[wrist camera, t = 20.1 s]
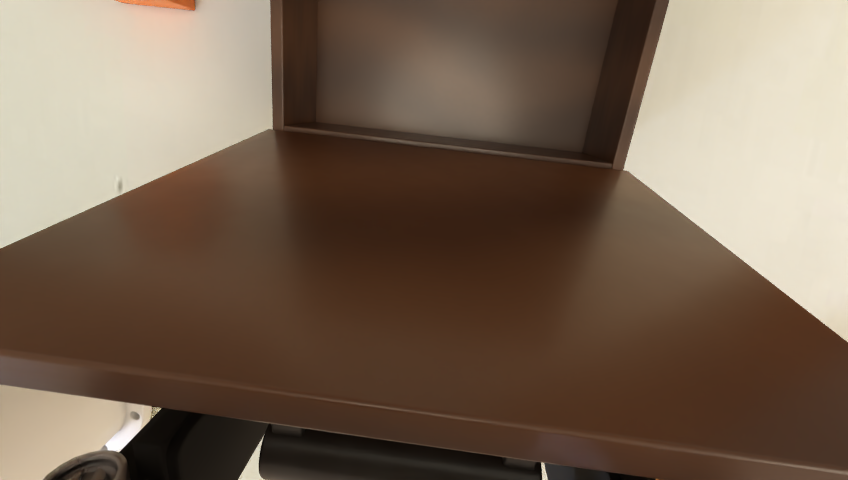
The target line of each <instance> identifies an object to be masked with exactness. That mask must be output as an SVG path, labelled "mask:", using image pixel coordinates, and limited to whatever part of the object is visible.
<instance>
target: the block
mask: <svg viewBox="0 0 848 480" xmlns="http://www.w3.org/2000/svg"><path fill="white" fill-rule="evenodd" d="M116 1H119V2H122V3H129V4H139V5H148V6H157V7H167V8H176V9H186V10H195V2H194V0H116Z"/></svg>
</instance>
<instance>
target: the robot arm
mask: <svg viewBox="0 0 848 480" xmlns="http://www.w3.org/2000/svg"><path fill="white" fill-rule="evenodd" d="M151 410H152V406H145V405H138V404H131V403H124V402H117V401H110V400H103V399H96V398H89V397H82V396H75V395H68V394H61V393H54V392H47V391H41V390H34V389H27V388H20V387H13V386H6V385H0V480H238V478H239V477H240V475H241V473H242V471H243V470H244V468H245V466H246V465H247V463H248V461H249V459H250V458H251V456H252V454H253V453H254V451H255V449H256V447H257V446H258V444H259V442H260V441H261V439H262V437H263V435H264V434H265V432H266V429H267V426H268V424H269V423H263V422H256V421H249V420H242V419H235V418H228V417H221V416H215V415H208V414H201V413H194V412H187V411H180V410H173V409H166V408H162V409H161V410H160V411H159V412H158V413H157V414H156V415H155V416H154V417H153V418H152V419H151V420H150V418H151ZM120 450H121V451H120ZM116 451H120V452H116ZM545 469H546V473H547V477H548V480H656V479H653V478H646V477H639V476H632V475H625V474H618V473H611V472H604V471H597V470H590V469H583V468H576V467H569V466H562V465H555V464H549V463H545Z"/></svg>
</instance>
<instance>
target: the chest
mask: <svg viewBox="0 0 848 480" xmlns="http://www.w3.org/2000/svg"><path fill="white" fill-rule="evenodd" d="M668 3H669V0H270V5H271V54H272V104H273V130H280V131H289V132H297V133H306V134H315V135H323V136H332V137H340V138H349V139H358V140H366V141H375V142H383V143H392V144H401V145H409V146H418V147H426V148H435V149H444V150H452V151H461V152H469V153H478V154H486V155H495V156H504V157H512V158H521V159H529V160H538V161H547V162H555V163H564V164H572V165H581V166H590V167H598V168H607V169H615V170H623V168H624V164H625V161H626V157H627V153H628V150H629V146H630V142H631V139H632V135H633V131H634V128H635V124H636V120H637V117H638V113H639V109H640V106H641V102H642V98H643V95H644V91H645V87H646V84H647V80H648V76H649V73H650V69H651V65H652V62H653V58H654V54H655V51H656V47H657V43H658V40H659V36H660V32H661V29H662V25H663V21H664V18H665V14H666V10H667V7H668Z"/></svg>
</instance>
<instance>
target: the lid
mask: <svg viewBox="0 0 848 480" xmlns="http://www.w3.org/2000/svg"><path fill="white" fill-rule="evenodd" d="M0 385H6V386H13V387H20V388H27V389H34V390H41V391H47V392H54V393H61V394H68V395H75V396H82V397H89V398H96V399H103V400H110V401H117V402H124V403H131V404H138V405H145V406H152V407H159V408H166V409H173V410H180V411H187V412H194V413H201V414H208V415H215V416H221V417H228V418H235V419H242V420H249V421H256V422H263V423H269V424H268V426H267V429H266V432H265V435H264V438H263V442H262V446H261V450H260V457H259V473H260V476H261V477H262V478H263V479H265V480H542V469H541V462H542V463H549V464H555V465H562V466H569V467H576V468H583V469H590V470H597V471H604V472H611V473H618V474H625V475H632V476H639V477H646V478H653V479H660V480H848V342H847V341H845V340H844V339H843V338H841V337H840V336H839V335H838V334H836V333H835V332H834V331H832V330H831V329H830V328H829V327H827V326H826V325H825V324H823V323H822V322H821V321H820V320H818V319H817V318H816V317H814V316H813V315H812V314H811V313H809V312H808V311H807V310H805V309H804V308H803V307H802V306H800V305H799V304H798V303H796V302H795V301H794V300H793V299H791V298H790V297H789V296H787V295H786V294H785V293H784V292H782V291H781V290H780V289H778V288H777V287H776V286H775V285H773V284H772V283H771V282H769V281H768V280H767V279H766V278H764V277H763V276H762V275H760V274H759V273H758V272H757V271H755V270H754V269H753V268H751V267H750V266H749V265H748V264H746V263H745V262H744V261H742V260H741V259H740V258H739V257H737V256H736V255H735V254H733V253H732V252H731V251H730V250H728V249H727V248H726V247H724V246H723V245H722V244H721V243H719V242H718V241H717V240H715V239H714V238H713V237H712V236H710V235H709V234H708V233H706V232H705V231H704V230H703V229H701V228H700V227H699V226H697V225H696V224H695V223H694V222H692V221H691V220H690V219H688V218H687V217H686V216H685V215H683V214H682V213H681V212H679V211H678V210H677V209H676V208H674V207H673V206H672V205H670V204H669V203H668V202H667V201H665V200H664V199H663V198H661V197H660V196H659V195H658V194H656V193H655V192H654V191H652V190H651V189H650V188H649V187H647V186H646V185H645V184H643V183H642V182H641V181H640V180H638V179H637V178H636V177H634V176H633V175H632V174H631V173H629V172H628V171H624V170H615V169H607V168H598V167H590V166H581V165H572V164H564V163H555V162H547V161H538V160H529V159H521V158H512V157H504V156H495V155H486V154H478V153H469V152H461V151H452V150H444V149H435V148H426V147H418V146H409V145H401V144H392V143H383V142H375V141H366V140H358V139H349V138H340V137H332V136H323V135H315V134H306V133H297V132H289V131H280V130H272V129H268V130H266V131H264V132H261V133H259V134H257V135H255V136H252V137H250V138H248V139H246V140H243V141H241V142H239V143H237V144H234V145H232V146H230V147H228V148H225V149H223V150H221V151H219V152H216V153H214V154H212V155H210V156H207V157H205V158H203V159H201V160H198V161H196V162H194V163H192V164H189V165H187V166H185V167H183V168H180V169H178V170H176V171H174V172H171V173H169V174H167V175H165V176H162V177H160V178H158V179H156V180H153V181H151V182H149V183H147V184H144V185H142V186H140V187H138V188H136V189H133V190H131V191H129V192H127V193H124V194H122V195H120V196H118V197H115V198H113V199H111V200H109V201H106V202H104V203H102V204H100V205H97V206H95V207H93V208H91V209H88V210H86V211H84V212H82V213H79V214H77V215H75V216H73V217H70V218H68V219H66V220H64V221H61V222H59V223H57V224H55V225H52V226H50V227H48V228H46V229H43V230H41V231H39V232H37V233H34V234H32V235H30V236H28V237H25V238H23V239H21V240H19V241H16V242H14V243H12V244H10V245H8V246H5V247H3V248H1V249H0Z"/></svg>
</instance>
